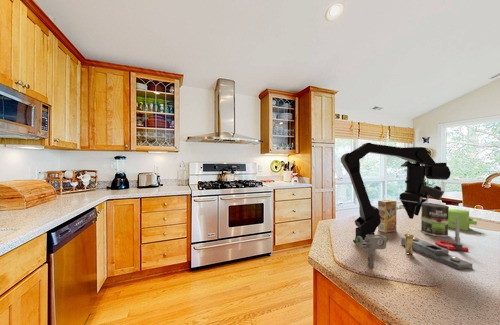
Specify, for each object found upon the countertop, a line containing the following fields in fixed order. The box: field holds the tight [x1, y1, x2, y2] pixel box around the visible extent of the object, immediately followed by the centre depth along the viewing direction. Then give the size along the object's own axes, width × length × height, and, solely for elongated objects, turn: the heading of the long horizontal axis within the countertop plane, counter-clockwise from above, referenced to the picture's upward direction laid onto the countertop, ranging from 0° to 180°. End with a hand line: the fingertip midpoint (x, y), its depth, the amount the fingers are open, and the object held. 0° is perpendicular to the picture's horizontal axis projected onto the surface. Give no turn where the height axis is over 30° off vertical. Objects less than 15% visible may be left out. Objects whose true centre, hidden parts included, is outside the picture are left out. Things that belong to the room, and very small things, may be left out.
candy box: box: [377, 199, 398, 234], centre depth 104 cm, size 9×4×15 cm, turn 114°
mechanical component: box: [354, 234, 389, 269], centre depth 67 cm, size 3×10×10 cm, turn 95°
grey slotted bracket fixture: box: [400, 236, 473, 270], centre depth 76 cm, size 6×21×4 cm, turn 9°
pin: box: [404, 233, 415, 254], centre depth 77 cm, size 3×3×7 cm
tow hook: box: [434, 218, 470, 252], centre depth 85 cm, size 8×13×9 cm
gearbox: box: [448, 207, 478, 231], centre depth 113 cm, size 18×10×10 cm, turn 40°
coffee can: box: [420, 202, 450, 238], centre depth 102 cm, size 10×10×14 cm
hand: (413, 216), depth 83 cm, fingers open, 9 cm apart
